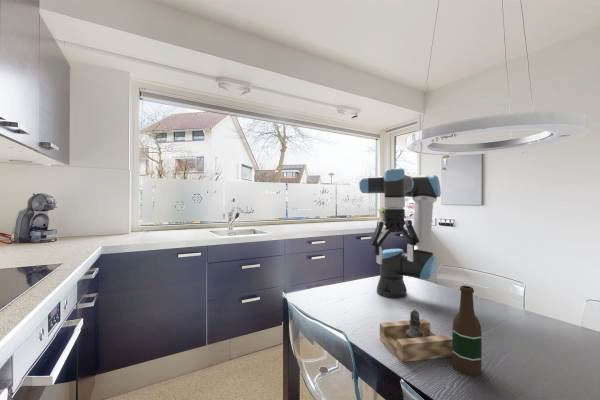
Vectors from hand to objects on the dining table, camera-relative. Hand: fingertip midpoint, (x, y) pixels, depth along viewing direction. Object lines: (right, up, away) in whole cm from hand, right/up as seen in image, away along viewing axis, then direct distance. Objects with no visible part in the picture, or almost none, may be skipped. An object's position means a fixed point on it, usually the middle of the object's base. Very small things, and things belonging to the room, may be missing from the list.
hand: (394, 262), depth 105 cm
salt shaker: (+1, -24, -15) cm, 29 cm away
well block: (+1, -25, -15) cm, 29 cm away
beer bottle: (+12, -25, -26) cm, 38 cm away
